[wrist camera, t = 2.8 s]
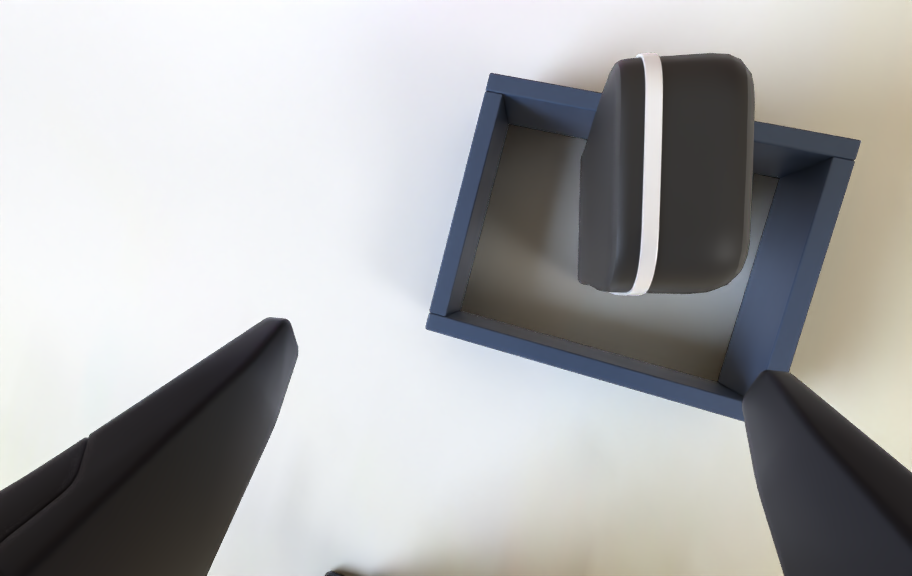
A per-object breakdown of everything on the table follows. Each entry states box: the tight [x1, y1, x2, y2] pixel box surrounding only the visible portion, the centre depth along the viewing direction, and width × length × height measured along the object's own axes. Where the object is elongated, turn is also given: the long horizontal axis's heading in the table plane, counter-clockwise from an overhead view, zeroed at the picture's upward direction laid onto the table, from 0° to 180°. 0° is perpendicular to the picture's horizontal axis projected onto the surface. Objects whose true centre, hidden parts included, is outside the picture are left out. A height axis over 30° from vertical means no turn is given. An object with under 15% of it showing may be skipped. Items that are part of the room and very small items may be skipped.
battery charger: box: [578, 52, 755, 296], centre depth 17 cm, size 7×4×11 cm, turn 179°
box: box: [426, 73, 861, 422], centre depth 21 cm, size 12×15×4 cm
